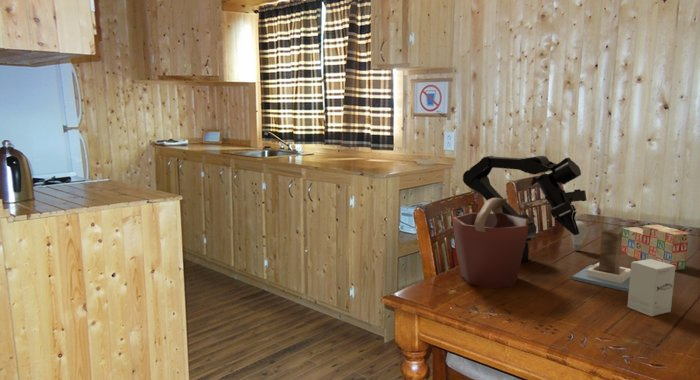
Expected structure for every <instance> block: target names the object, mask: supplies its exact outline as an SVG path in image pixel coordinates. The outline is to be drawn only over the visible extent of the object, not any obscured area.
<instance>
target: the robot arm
mask: <svg viewBox="0 0 700 380" xmlns="http://www.w3.org/2000/svg"><path fill="white" fill-rule="evenodd" d="M494 168H495V169H506V170H507V169H508V170H517V171H521V172H523V173H526V174H529V175H538V176H532V180H531V182H530V185H531V186H535V185H538V187H539V189H540V191H542V193H543V195H544V199H545V200H546V201H547V203H548V205H549V206H550V208H551V209H550V215H551V216H552V218H554V220H556V221H557V223H559V224H560V225H561V226H563V228H565V229H566V230H567V231H569V233H570V232H571V233H572V234H573V235H578V234H579V230H578V227H577V224H576V216H577V215H576V214H577V213H578V212H577V209H576V207H575V205H574V204H573V202H581V201H582V202H587V201H588V200H587V194H586V193H587V191H586V190H581V189H580V188H579V189H574V191H569V192H568V191H567V192H566V190H564V189H563V188H562V186H561V184H562V185H566V184H568V183H569V182H571V181H573V180H575V179H577V178H579V177H580V176H581V175H582V171H581V169H580V167H579V165H577V164H576V162H574V161H573V160H572V159H571V158H570V157H565V158H564V159H562V161H560V162H558V163H555V162H553V161H550V160H549V158H548V156H546V155H536V156H530V157H511V156H510V157H507V156H494V155H487V156H483V157H482V158H481V159H480V160H479V161H478V162H477V163H476V164H474V165H472V166H471V167H470V168H469V169H468V170H466V171H464V173H463V175H462V181H463V184H464V185H466V186H467V187H468V188H469V189H470V190H473V191H475V192H476V193H479V194H480V195H481V197H483V198H484V200H486V201H488V200H489V199H491V198H503V196H502V195H501V194H500V193H499V192H498V191H497V190H496V189H495V188H494V187H493V185H491V182H490V178H489V175H490V174H491V171H492V170H493V169H494ZM548 172H550V173H548ZM539 174H541V175H539ZM502 212H503V213H504V214H508V215H513V216H517V217H522V218H526V219H528V234H527V240H526V244H525V248H524V252H523V256H522V260H521V263H523V262H529V261H532V258H530V257H529V253H530V248H529V242H531V240H532V239H533V237H534V236H536V234H537V225H536V224H535V223H536V222H535V220H532V219H531V217H530V216H529V215H528V214H527V213H524V214H519V213H518V212H517V211H516V210H515V209H514V208H513V207H512V206H511V205H510V204H509V202H508V201H506V203H505V204H504V205H503V206H502Z"/></svg>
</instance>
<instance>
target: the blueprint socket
mask: <svg viewBox="0 0 700 380" xmlns="http://www.w3.org/2000/svg"><path fill="white" fill-rule="evenodd" d="M630 273H631V268H627V267H623V266H620V267H619V275H616V274H611V273H606V272H601V271H599V262H597V263H595V264H590V265H588V266H585V268H583V269H582V270H580V271H578V272H576V273H575V274H574V275H572V276H571V277H572V280H573V281H577V282H582V283H587V284H591V285H597V286H601V287H605V288H609V289H613V290H619V291H623V292H627V293H629V284H630Z"/></svg>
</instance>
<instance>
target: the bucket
mask: <svg viewBox="0 0 700 380" xmlns="http://www.w3.org/2000/svg"><path fill="white" fill-rule="evenodd" d="M506 202H508V199H507V198H503V197H502V198H491V199H489V200H488V201H487V200H486V201H485V203H484V204H483V205H482V207H481V209H480V210H479V212H469V213H466V214H465V213H464V214H462V215H459V216H458V215H457V216H453V217H452V230H453V236H454V241H455V247H456V255H457V259H458V265H459V270H460V277H462V278H463V279H464V280H465V281H466V282H467V284H468V285H473V286H477V287H478V286H479V287H484V288H490V289H498V288H506V287H507V286H508V287H513V286H516V283H517V279H518V276H519V272H520V267H521V264H522V262H521V260H522V256H523V252H524V248H525V244H526V240H527V234H528V219H526V218H522V217H517V216H513V215H508V214H504V213H503V212H502V206H503V205H504V204H505V203H506Z"/></svg>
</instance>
